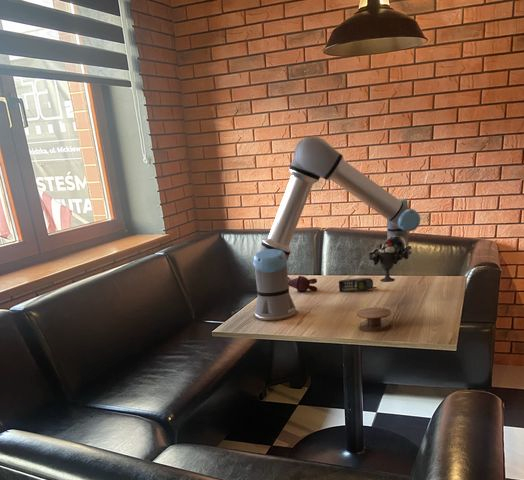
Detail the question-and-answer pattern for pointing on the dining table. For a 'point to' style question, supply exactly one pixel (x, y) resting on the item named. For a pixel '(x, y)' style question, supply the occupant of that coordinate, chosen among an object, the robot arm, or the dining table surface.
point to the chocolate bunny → (302, 284)
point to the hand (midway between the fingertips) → (385, 260)
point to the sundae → (387, 259)
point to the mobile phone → (356, 284)
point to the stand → (374, 319)
